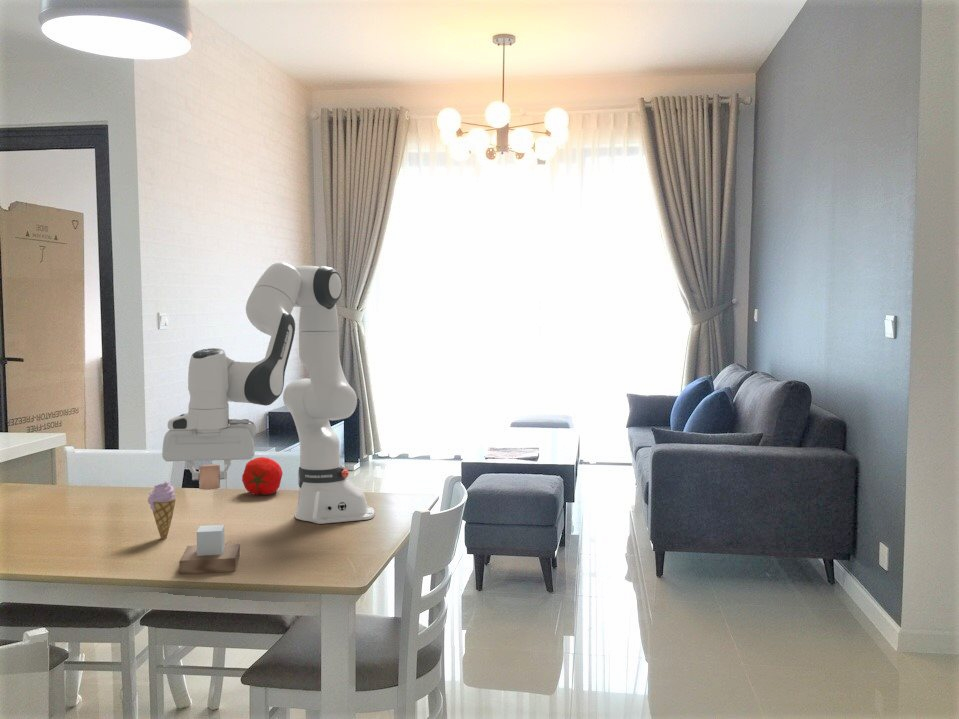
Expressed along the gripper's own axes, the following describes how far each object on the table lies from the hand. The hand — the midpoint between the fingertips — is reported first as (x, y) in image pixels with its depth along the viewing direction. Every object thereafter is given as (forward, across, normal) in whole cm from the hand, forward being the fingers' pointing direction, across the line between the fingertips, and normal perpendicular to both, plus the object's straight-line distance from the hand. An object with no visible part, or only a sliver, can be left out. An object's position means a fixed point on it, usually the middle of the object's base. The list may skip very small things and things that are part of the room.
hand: (209, 479), depth 197 cm
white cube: (+17, 0, 0) cm, 17 cm away
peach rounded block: (+2, 0, 0) cm, 2 cm away
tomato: (+20, -7, -74) cm, 77 cm away
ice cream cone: (+20, +15, -25) cm, 35 cm away
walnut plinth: (+20, 0, 0) cm, 20 cm away
